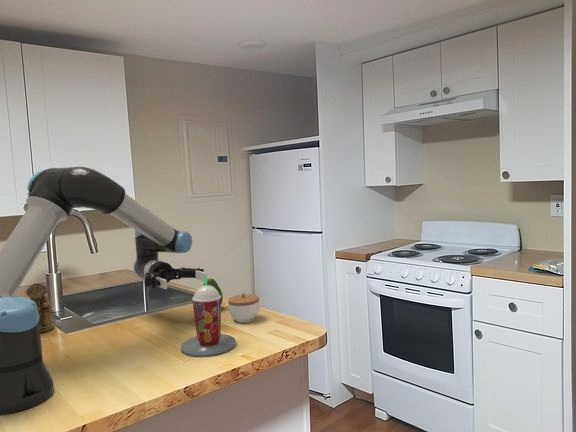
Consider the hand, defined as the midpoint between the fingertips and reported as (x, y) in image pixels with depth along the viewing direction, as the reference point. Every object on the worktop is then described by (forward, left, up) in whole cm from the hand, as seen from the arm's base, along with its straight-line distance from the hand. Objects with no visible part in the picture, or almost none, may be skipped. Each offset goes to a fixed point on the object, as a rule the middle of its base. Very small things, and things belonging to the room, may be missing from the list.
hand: (186, 280), depth 145 cm
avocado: (+29, -7, -18) cm, 35 cm away
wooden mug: (+21, +52, -18) cm, 59 cm away
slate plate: (-9, -6, -18) cm, 21 cm away
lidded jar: (+13, -18, -18) cm, 29 cm away
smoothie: (-9, -6, -17) cm, 20 cm away
